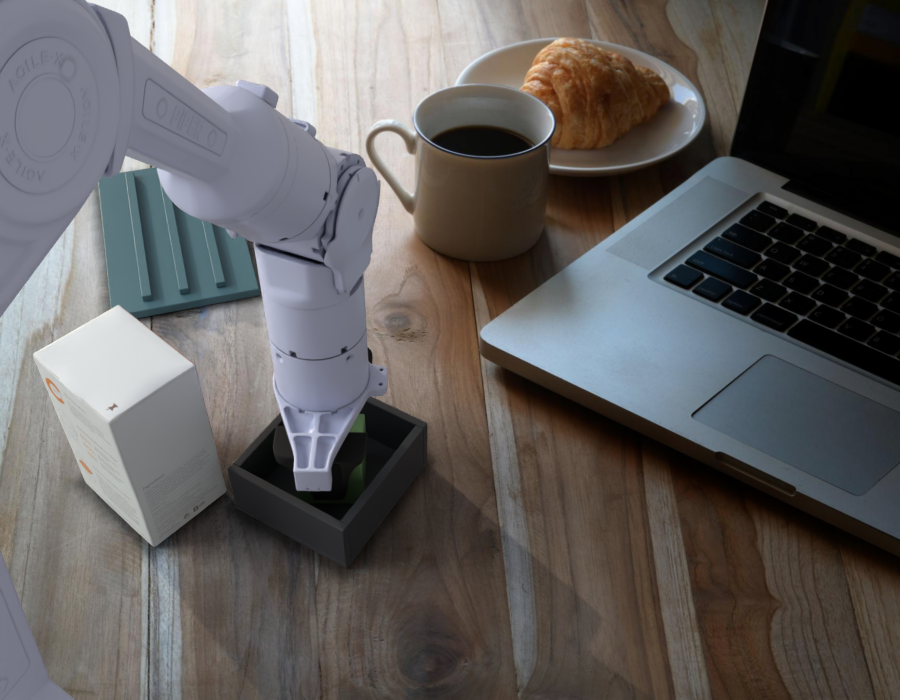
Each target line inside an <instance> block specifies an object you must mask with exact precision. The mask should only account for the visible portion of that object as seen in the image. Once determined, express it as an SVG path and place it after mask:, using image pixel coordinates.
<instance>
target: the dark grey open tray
mask: <svg viewBox="0 0 900 700" xmlns="http://www.w3.org/2000/svg"><path fill="white" fill-rule="evenodd" d="M359 414H364V415H365V429H366V432H367V444H366V445H367V460H366V474H365V489H364V492H363V493H362V494H361V496H360V497H359V498H358V499H357V501H356V502H355V503H354V504H330V503H306V502H304V501H302V500H300V499H298V493H297V490H296V484H295V477H294V471H292V470H291V469H289V468H287V467H285V466H283V465H280V464H279V463H277V461H276V458H275V456H274V451H273V442H274V436H275V429H276V426H284V422H283V419H282V416H281V413H280V412H279V413H278V414H277V415H276V416H275V417H274V418H273V419H272V421H271V422H269V424H268V425H267V426H266V427H265V428H264V429H263V430H262V431H261V432H260V434H258V436H256V437H255V438H254V439H253V441H252V442H251V443H250V444H249V445H248V446H247V447H246V448H245V449H244V450H243V451H242V452H241V453H240V454H239V456H238V457H237V458H236V459H235V460H234V461H233V462H232V463H231V464H230V466H228V467H227V469H226V472H227V475H228V479H229V484H230V487H231V492H232V495H233V500H234V505H235V508H236V509H237V510H239V511H241V512H242V513H244V514H246V515H248V516H250V517H251V518H253V519H255V520H256V521H259V522H261V523H262V524H264V525H266V526H267V527H269V528H271V529H273V530H275V531H277V532H278V533H280V534H282V535H284V536H286V537H287V538H289V539H291V540H293V541H295V542H297V543H298V544H300V545H302V546H304V547H306V548H307V549H308V550H311V551H313V552H314V553H317V554H318V555H320V556H323V557H324V558H325V559H328V560H329V561H331V562H333V563H334V564H336V565H338V566H339V567H342V568H344V569H346V570H347V569H348V568H349V567H350V566H351V564H352V563H353V562H354V561H355V559H356V557H358V555H359V553H360V552H362V550H363V548H365V545H366V544H367V543H368V542H369V541H370V540H371V538H372V537H373V535H374V534H375V532H376V531H377V530H378V529H379V527H380V526H381V525H382V523H383V521H384V520H385V519H386V518H387V516H388V515H389V514H390V513H391V511H392V510H393V509H394V507H395V506H396V505H397V503H398V502H399V500H400V499H401V498H402V497H403V495H404V494H405V493H406V492H407V490H408V489H409V487H410V486H411V485H412V483H413V482H414V480H416V478H417V476H418V475H419V474H420V472H421V471H422V470H424V469H423V468H424V467H425V466H426V465H427V463H428V425H429V424H428V422H427V421H424V420H422V419H420V418H418V417H416V416H413V415H412V414H410V413H408V412H406V411H404V410H403V411H402V410H401V409H399V408H397V407H395V406H392V405H390V404H388V403H386V402H384V401H382V400H379V399H378V398H376V397H374V396H371V397H369V398H368V399H367V401H366V402H365V404H364V406H363V408H362V409H361V411H360V413H359Z"/></svg>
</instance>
